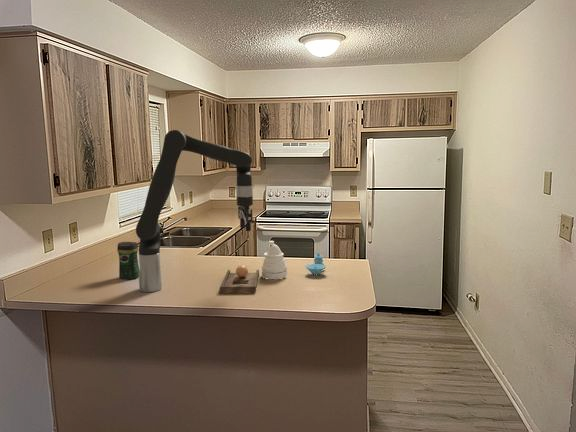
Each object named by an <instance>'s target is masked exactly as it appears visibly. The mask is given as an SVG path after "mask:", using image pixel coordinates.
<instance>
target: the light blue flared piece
mask: <svg viewBox="0 0 576 432" xmlns="http://www.w3.org/2000/svg"><path fill="white" fill-rule="evenodd" d="M323 257H324V256H323V255H322V254H321V253H320V252H318V253H316V254H315V255H314V259H313V263H310V264H306V265H305V268H306V269H307V270H308V271H309V273H311V274H312V275H313V274H318V275H319V274H321V272H323V271H322V270H323V269H325V270H326V267H327V266H326V265H325V264H324V263H323V262H324V260H323Z"/></svg>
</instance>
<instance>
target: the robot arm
mask: <svg viewBox="0 0 576 432" xmlns="http://www.w3.org/2000/svg"><path fill="white" fill-rule="evenodd" d="M163 139H164V140H163V146H162V151H161V155H160V159H159V161H158V163H157V165H156V167H155V170H154V172H153V175H152V177H151V181H150V184H149V187H148V191H147V195H146V199H145V204H144V208H143V209H142V213H141V215H140V218H139V220H138V222H137V224H136V226H135V234H136V236H137V238H138V239H139V246H138V265H139V271H138V273H139V277H138V285H139V287H138V288H139V292H143V293H154V292H159V291H161V290H162V286H163V285H162V284H163V283H162V270H161V268H162V266H161V251H160V250H161V249H160V248H161V227H160V224H159V218H160V214H161V213H162V210H163V208H164V206H165V204H166V203H167V200H168V198H169V196H170V194H171V191H172V189H173V188H172V187H173V185H174V181H175V176H176V168H177V163H178V161H179V158H180V156H181V154H182V152H183V151H185V152H189V153H190V152H191V153H194V154H198V155H200V156H203V157H206V158H209V159H211V160H215V161H218V162H221V163H226V164H227V163H228V164H231V165H233V166H235V169H236V206H237V210H238V211H237V215H238V217H237V218H238V219H239V228H240V229H245V231H246V232H250V231H252V230H251V229H252V228H251V227H252V225H251V224H252V223H253V221H254V220H253V209H252V208H250V207H251V206H253V205H254V201H253V200H254V196H253V194H254V193H253V190H254V189H253V180H252V178H253V176H252V174H251V170H252V169H251V166H252V164H253V163H252V162H253V158H252V156H251V155H250V153H248V152H245V151H243V150H242V151H241V150H238V149H233V148H230V147H228V146H224V145H221V144H217V143H214V142H209V141H204V140H201V139H197V138H194V137H192V136H190V135H187V134H185V133H184V132H183V131H180V130H177V129H172V130H169V131H168V132H167V133H166V134H165V135H164V138H163Z"/></svg>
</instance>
